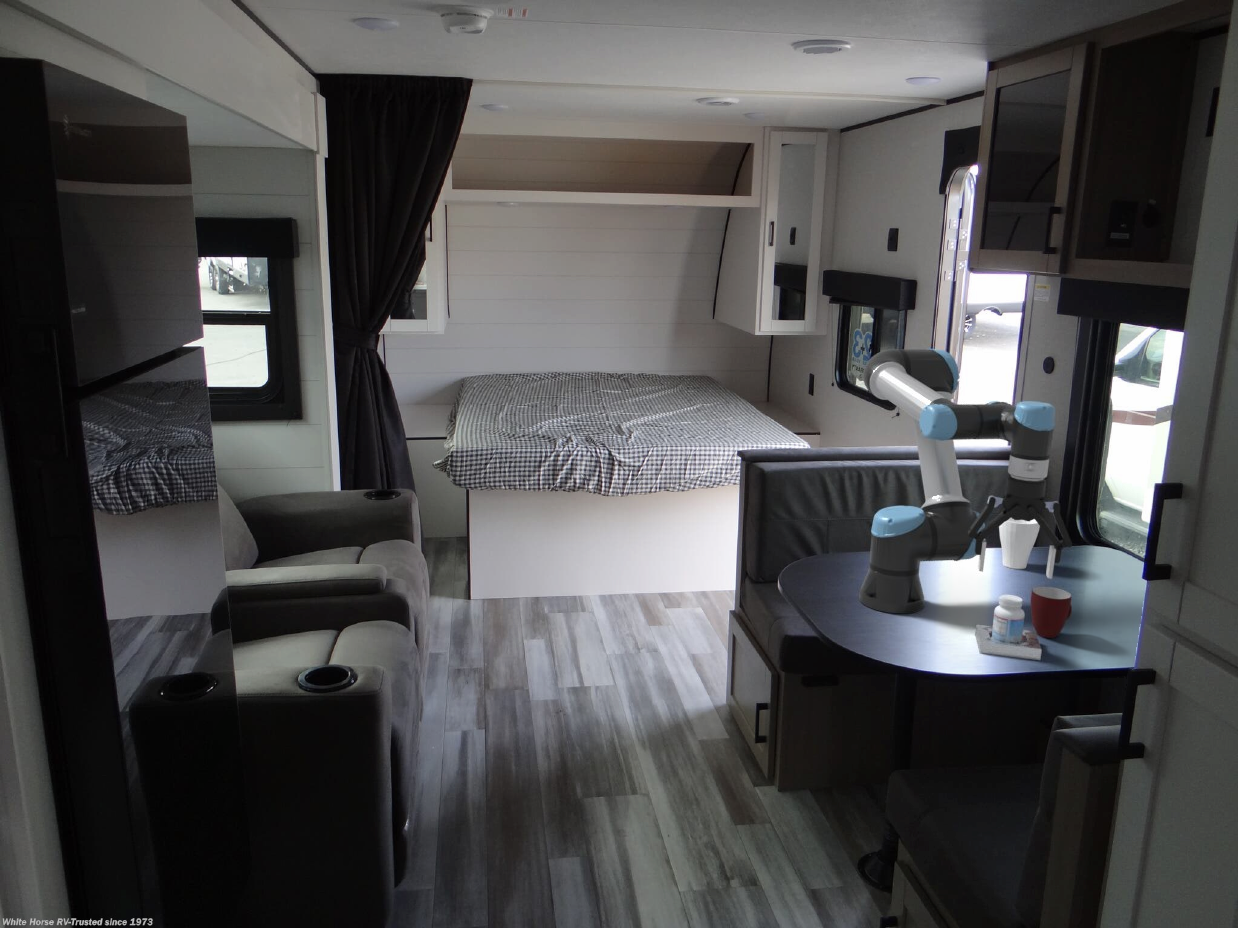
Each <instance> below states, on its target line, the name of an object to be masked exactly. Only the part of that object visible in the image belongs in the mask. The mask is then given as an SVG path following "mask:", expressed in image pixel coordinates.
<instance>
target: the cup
mask: <svg viewBox="0 0 1238 928" xmlns="http://www.w3.org/2000/svg"><path fill="white" fill-rule="evenodd" d="M1040 528H1041V527H1040V525H1039V524H1038V523H1037V522H1036V520H1035V519H1033V520H1031V521H1024V520H1014V519H1012V518H1010V519H1009V520H1007V521H1005V522H1004V523H1003V524H1002V525H1000V526H999V527H998V529H999V540H1000V544H1001V552H1002V554H1001V555H1002V565H1003V566H1004V567H1006V568H1009V569H1013V570H1025V569H1026V568H1027V564H1028V561H1029V558H1030V554H1031V552H1032V549H1033V547H1034V545H1035V543H1036V540H1037V538H1038V534H1039V532H1040Z"/></svg>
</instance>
